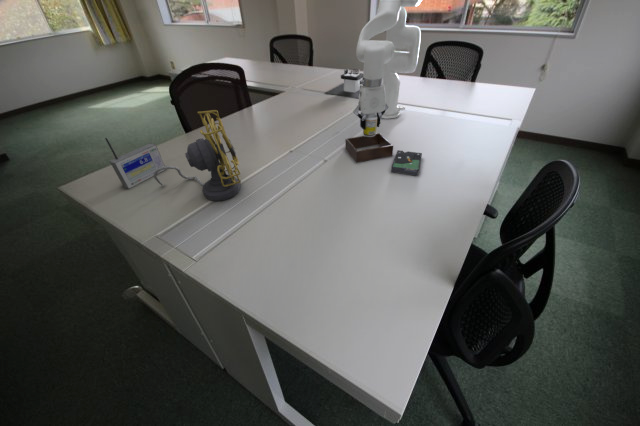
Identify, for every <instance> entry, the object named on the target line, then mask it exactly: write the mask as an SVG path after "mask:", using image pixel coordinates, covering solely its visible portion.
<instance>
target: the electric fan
mask: <svg viewBox="0 0 640 426" xmlns="http://www.w3.org/2000/svg"><path fill="white" fill-rule="evenodd" d="M197 114H198V115H199V117H200V119H201V122H202V125H203V126H204V128H205V130H206V132H204V130H203V129H199V133H200V134H201V135H203V137H204V138H198V139H195V141H194V142H191V143H189V144H188V145H187V149H186V150H187V151H186V152H185V154H184V155H185V158H186V161H187V162H188V164H189V166H190V167H191V168H195V169H197V170H198V171H201V172H204V171H207V170H208V172H210V176H211V177H210V178H209V180H207V181H205V183H203V182H202V181H201V180H200V178H199V177H198V176H197V175H195V176H186V175H185V174H183V173H182V171H181V169H180V168H179V167H177V166H173V165H165V167H161V168H159V169H157V170H156V171H155V172H154V176H153V179H155V180H156V182H157V183H158V184H159V185H160V186H162V187H164V184H163V183H162V181H161V180H160V179H159V178H158V174H157V173H158V172H159V171H161V170H164V169H166V170H176V171H177V173H178V175H179V176H180V177H181V178H183V179H185V180H190V181H191V180H196V182H197V183H198V184H199V185H200V186H201V187H202V194H203V196H204V197H205V198H206V199H207V200H210V201H213V202H222V201H226V200H229V199H232V198H233V197H235V196H236V195H237V194H238V193H239V192H240V190H241V182H242V181H241V178H240V175H241V171H240V170H239V167H238V166H239V165H240V161H239V159H238V157H237V153H236V148H235V146H234V145H233V142H232V141H231V140H230V138H229V137H228V136H227V133H226V130H225V127H224V125H223V121H222V119H221V117H220V115H219V110H217V109H211V110H204V111H203V110H202V111H197ZM202 114H204V115H202ZM210 114H213V115H215V116H216V118H215V119H216V120H217V121H218V122H215V120H214V118H213V117H212V116H211V115H210ZM206 119H207V120H206ZM219 133H221V135H222V137H220V134H219ZM221 138H222V139H223V141H224V143H225V145H226V147H227V148H228V151H226V149H225V147H224V144H223V143H222V140H221ZM227 153H229V154H231V157H232V159H231V160H229V157H228V156H227ZM231 163H232V164H233V167H232V166H231ZM164 171H165V170H164ZM227 173H228V174H227Z"/></svg>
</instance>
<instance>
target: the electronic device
mask: <svg viewBox="0 0 640 426" xmlns="http://www.w3.org/2000/svg"><path fill="white" fill-rule="evenodd" d="M105 141H106V144H107V145H108V147H109V148H110V151H111V152H112V155H113V156H114V158H113V159H111V160H109V163H110V165H111V166H112V167H111V168H113V170H114V172H115V174H116V175H117V177H118V180H119V181H120V183H121V184H122V186H123V187H124V188H126V189H128V190H130V189H131V188H133V187H135V186H137V185H139V184H142V183H143V182H145V181H147V180H149V179H151V178H154V172H155V171H156V170H157V169H159V168H161V167H165V166H166V165H165V163H164V160H163V157H162V156H161V153H160V151H159V149H158V145H157V144H155V143H152V142H151V143H148V144H145V145H143V146H140V147H139V148H136V149H133V150H131V151H129V152H126V153H124V154H122V155H120V156H117V154H116V152H115V150H114V148H113V146H112V144H111V143H110V140H109V139H108V138H107V137H105ZM166 170H167V169H164V170H161V171H159V172H158V173H157V175H159V174H160V173H162V172H165V171H166Z"/></svg>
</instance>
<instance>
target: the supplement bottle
mask: <svg viewBox="0 0 640 426" xmlns="http://www.w3.org/2000/svg"><path fill="white" fill-rule="evenodd" d="M365 121H366V126H365V130H363V129H362V131H363V132H362V134H363V136H366V137H373V136H375V135H376V134H377V129H378V127H377V115H376V113H372V114H366V117H365Z"/></svg>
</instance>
